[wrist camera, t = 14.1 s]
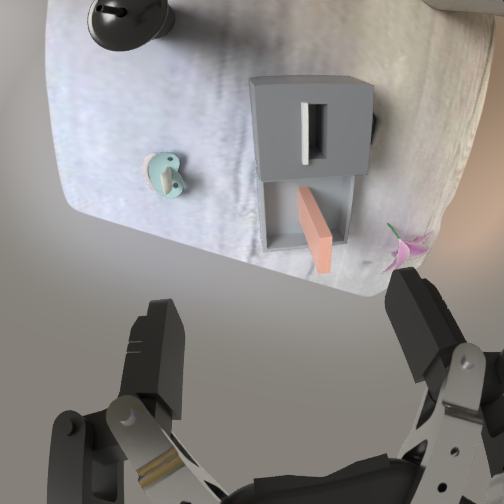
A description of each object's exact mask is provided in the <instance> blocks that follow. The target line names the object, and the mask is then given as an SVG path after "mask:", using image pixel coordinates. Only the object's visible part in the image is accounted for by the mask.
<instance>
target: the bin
mask: <svg viewBox="0 0 504 504" xmlns="http://www.w3.org/2000/svg"><path fill="white" fill-rule="evenodd" d="M256 177H257V191H258V204H259V218H260V233H261V241H262V247H263V253H264V252H273V251H282V250H291V249H300V248H309V246H308V243H307V240H306V237H305V235H304V232H303V229H302V226H301V224H300V221H299V204H298V187H306V186H308V187H309V189H310V191H311V193H312V195H313V197H314V199H315V201H316V203H317V205H318V207H319V209H320V211H321V213H322V215H323V217H324V220H325V222H326V224H327V226H328V228H329V230H330V232H331V234H332V245H337V244H346V243H347V239H348V232H349V225H350V217H351V209H352V201H353V192H354V182H355V175H351V176H332V177H316V178H301V179H288V180H277V181H266V182H261V180H260V176H259V172H258V168H257V167H256Z"/></svg>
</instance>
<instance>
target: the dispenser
mask: <svg viewBox="0 0 504 504" xmlns="http://www.w3.org/2000/svg"><path fill="white" fill-rule="evenodd" d="M249 87H250V100H251V112H252V125H253V138H254V151H255V160H256V164H257V168H258V172H259V176H260V180H261V182H266V181H277V180H288V179H301V178H316V177H332V176H351V175H367V172H368V163H369V153H370V142H371V130H372V116H373V98H374V85H371V84H369V83H366V82H364V81H361V80H358V79H356V78H353V77H350V76H331V75H290V76H266V77H251V78H249Z"/></svg>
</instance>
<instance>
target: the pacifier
mask: <svg viewBox="0 0 504 504" xmlns="http://www.w3.org/2000/svg"><path fill="white" fill-rule="evenodd" d="M168 157H172V158H173V160H172V161H170V160H168ZM179 164H180V162H179V158H178V157H177V156H176V155H175V154H173V153H171V152H161V153H158V154H157V153H152V154H149V155H148V156H147V157H146V159H145V160H144V163H143V174H144V178H145V180H146V182H147V184H148V185H149V186H150V188H152V189H153V190H154V191H157V193H158V194H159V195H161V196H163V197H165V198H170V199H171V198H175V197H177V196H178V195H180V193H181V192H182V190H183V179H182V177H181V175H180V174H179V172H178V168H179ZM174 183H177V184H178V185H179V186H178V188H175V187H174V186H173V184H174Z"/></svg>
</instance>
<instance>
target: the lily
mask: <svg viewBox="0 0 504 504" xmlns="http://www.w3.org/2000/svg"><path fill="white" fill-rule="evenodd" d="M387 225H388V226H389V227H390V228H391V229H392V231H393V232H394V233H395V235H396V236H397V237H398V239H399V241H400V243H399V247H398V251H395V252H393V253H392V256H393V257H396V255H397V253H398V255H397V257H396V259H395V260H394V262H393V263H392V264H391V265H390V266H389V267H388V268H387V269H386V270H385V271H383V272H382V273H381V274H380V275H382V274H385V273H387V272H389V271H391V270H392V269H394V268H395V267H396V269H398V268H400V267H401V266H402V265H403V264H404V263H405V262H406V261H407V259H408V258H417V257H419V256H422V255H424V254H425V253H427V252H429V251H430V250H431V248H429V247H428V246H426V245H424V244H422V243H423V242H424V241H425V240H426V239H427V238H428V237H429V236H430V235H431V234H432V232H433V231H431V232H430V233H429V234H427V235H426V236H424V237H422V238H421V237H420V236H417V237H416V239H415V240H414V241H403V240H401V239H400V237H399V236H398V235H397V233H396V232H395V231H394V230H393V228H392V227H391V226H390V225H389V224H387Z"/></svg>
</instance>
